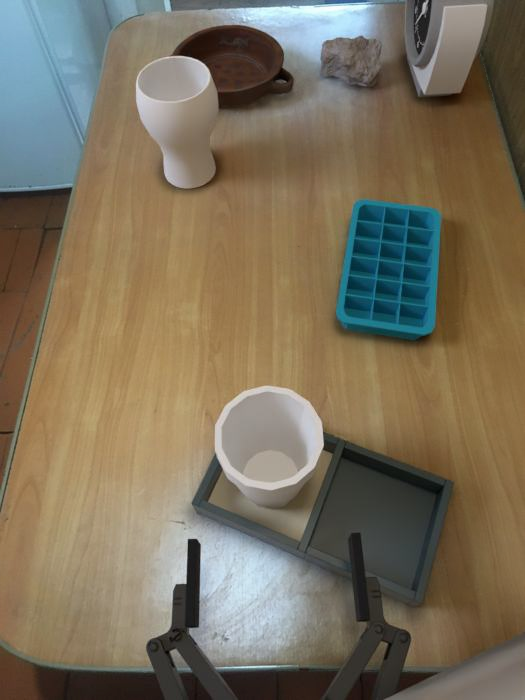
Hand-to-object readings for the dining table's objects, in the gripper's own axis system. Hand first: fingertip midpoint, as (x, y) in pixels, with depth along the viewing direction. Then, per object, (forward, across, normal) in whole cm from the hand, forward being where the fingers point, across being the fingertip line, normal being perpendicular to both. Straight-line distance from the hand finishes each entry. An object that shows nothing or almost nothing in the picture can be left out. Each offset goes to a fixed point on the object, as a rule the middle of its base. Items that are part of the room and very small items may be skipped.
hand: (274, 538), depth 47 cm
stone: (+76, +16, -10) cm, 79 cm away
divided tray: (+5, +5, -10) cm, 12 cm away
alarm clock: (+75, +29, -10) cm, 81 cm away
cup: (+55, -10, -10) cm, 57 cm away
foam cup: (+8, 0, -9) cm, 12 cm away
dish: (+76, -4, -10) cm, 76 cm away
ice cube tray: (+34, +16, -10) cm, 39 cm away
